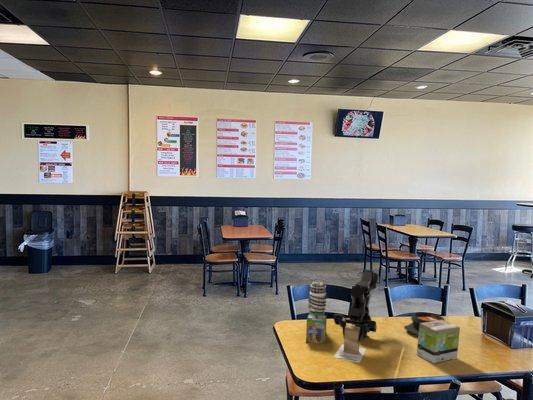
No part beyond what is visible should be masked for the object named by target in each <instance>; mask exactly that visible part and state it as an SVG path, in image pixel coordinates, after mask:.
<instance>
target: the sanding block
mask: <svg viewBox="0 0 533 400" xmlns="http://www.w3.org/2000/svg"><path fill="white" fill-rule="evenodd" d="M359 335H360V327H357V326H355V325H352V324H346V327H345V335H344V337H343V344H344V351H343V352H347V353H351V354H356V355H357V354H358V352H359V347H360V342H358V338H359Z"/></svg>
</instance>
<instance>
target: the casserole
mask: <svg viewBox="0 0 533 400" xmlns="http://www.w3.org/2000/svg"><path fill="white" fill-rule="evenodd" d="M410 319H411V321H412V322H411V323H410V324H407V325H405V326H404V328H403V329H404V330H406V331H407V332H409V333H412V334H414V335H416V336H418V335H419V326H420V323H425V322H432V321H438V320H444V321H446V320H445V318H444V317H443V316H441V315H440V314H439V315H438V314H436V313H432V312H427V311H426V312H425V311H418V312H414V313H413V314H412V315H411V318H410Z"/></svg>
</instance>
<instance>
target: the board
mask: <svg viewBox="0 0 533 400" xmlns="http://www.w3.org/2000/svg"><path fill="white" fill-rule="evenodd" d="M343 351H344V343H341V345H340V347H339V348H338V349H337V351H336V352H335V354H334V356H333V358H336V359H339V360H343V361H349V362H353V363H358V364H360V363H361V361H362V359H363V357H364V355H365V353H366V351H367V348H364V347H360V346H359V352H358V354H357V355H356V354H351V353H347V352H343Z"/></svg>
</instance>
